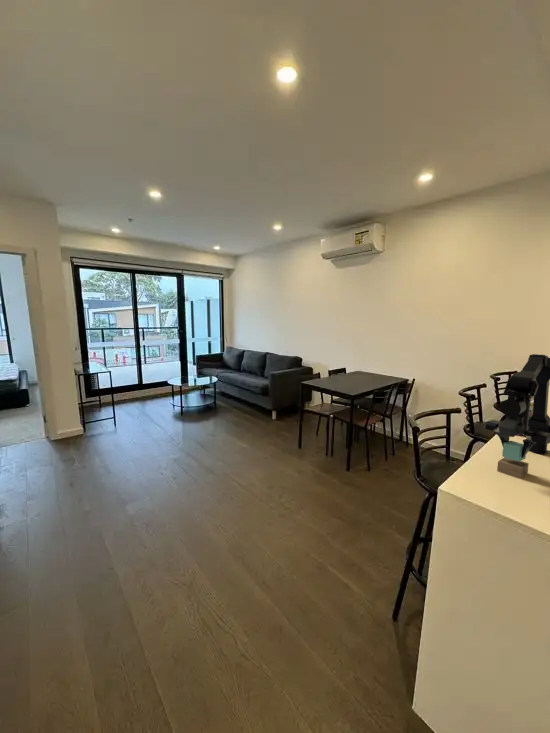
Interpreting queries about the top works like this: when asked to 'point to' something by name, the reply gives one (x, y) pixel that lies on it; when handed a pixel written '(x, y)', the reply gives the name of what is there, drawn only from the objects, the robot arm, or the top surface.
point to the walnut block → (512, 467)
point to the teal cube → (513, 450)
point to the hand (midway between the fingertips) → (514, 454)
